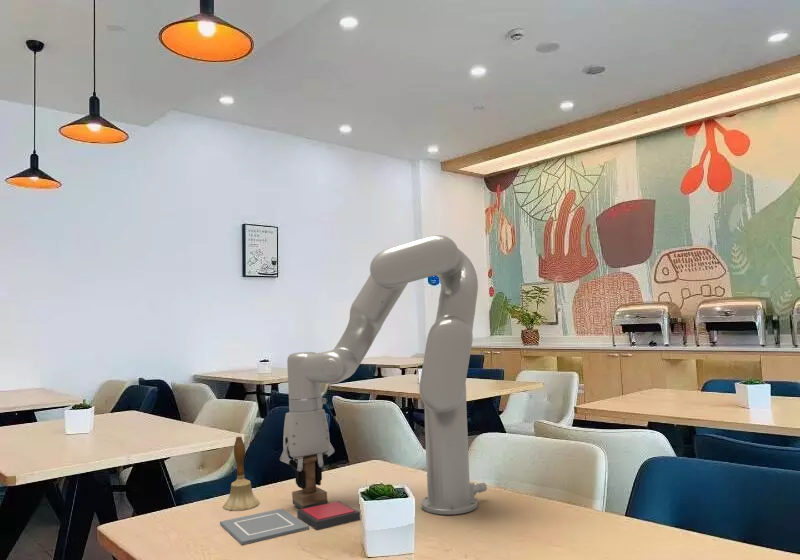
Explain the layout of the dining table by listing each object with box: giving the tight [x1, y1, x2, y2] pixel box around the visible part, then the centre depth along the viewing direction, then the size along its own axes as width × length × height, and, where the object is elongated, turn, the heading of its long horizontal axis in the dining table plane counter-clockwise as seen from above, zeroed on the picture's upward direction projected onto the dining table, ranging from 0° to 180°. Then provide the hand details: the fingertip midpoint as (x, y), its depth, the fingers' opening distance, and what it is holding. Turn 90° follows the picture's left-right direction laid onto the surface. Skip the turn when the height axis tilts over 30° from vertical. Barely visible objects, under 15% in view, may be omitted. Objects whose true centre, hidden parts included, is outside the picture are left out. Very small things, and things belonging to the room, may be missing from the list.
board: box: [219, 508, 310, 546], centre depth 126 cm, size 14×15×1 cm
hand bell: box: [222, 436, 261, 512], centre depth 142 cm, size 8×8×16 cm
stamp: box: [291, 455, 328, 509], centre depth 139 cm, size 6×6×11 cm
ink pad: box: [296, 500, 361, 531], centre depth 129 cm, size 10×10×2 cm
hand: (309, 485), depth 139 cm, fingers closed on stamp, 3 cm apart
